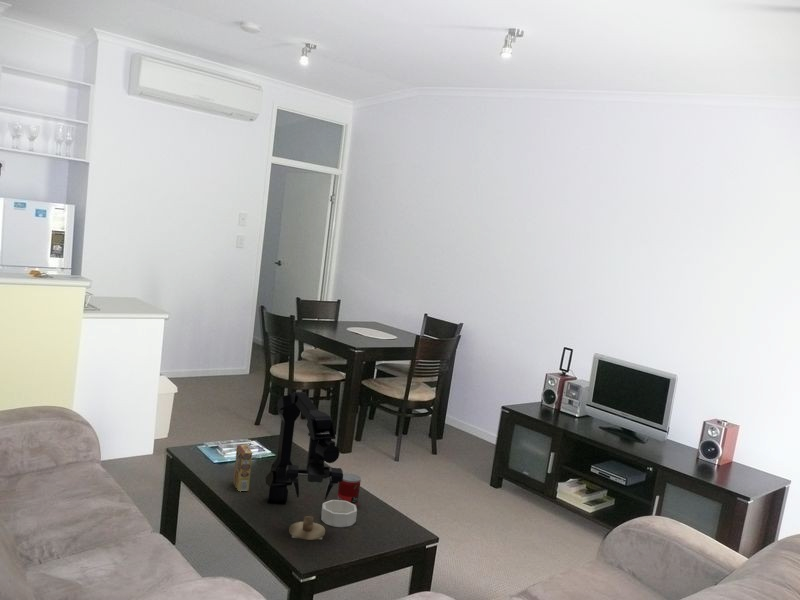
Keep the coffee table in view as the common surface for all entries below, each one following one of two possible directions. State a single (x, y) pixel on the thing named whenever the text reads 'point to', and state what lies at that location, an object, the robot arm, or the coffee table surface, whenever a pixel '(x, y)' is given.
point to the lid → (307, 529)
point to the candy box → (242, 468)
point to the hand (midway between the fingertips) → (311, 498)
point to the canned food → (349, 488)
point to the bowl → (338, 513)
